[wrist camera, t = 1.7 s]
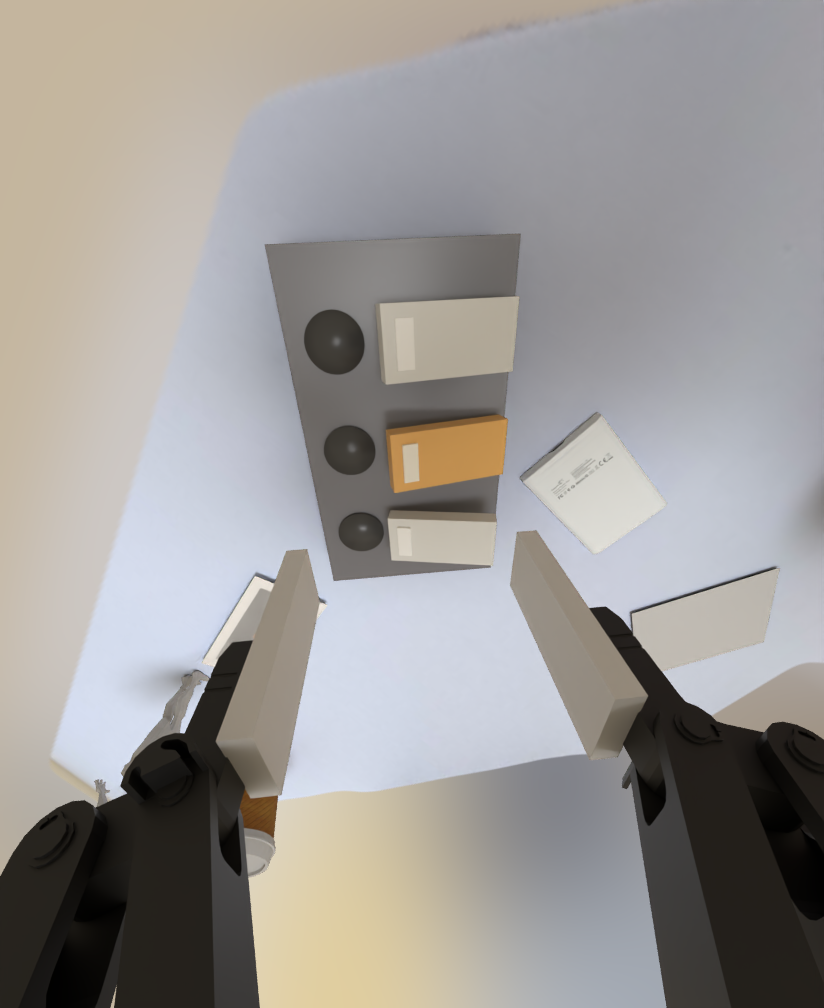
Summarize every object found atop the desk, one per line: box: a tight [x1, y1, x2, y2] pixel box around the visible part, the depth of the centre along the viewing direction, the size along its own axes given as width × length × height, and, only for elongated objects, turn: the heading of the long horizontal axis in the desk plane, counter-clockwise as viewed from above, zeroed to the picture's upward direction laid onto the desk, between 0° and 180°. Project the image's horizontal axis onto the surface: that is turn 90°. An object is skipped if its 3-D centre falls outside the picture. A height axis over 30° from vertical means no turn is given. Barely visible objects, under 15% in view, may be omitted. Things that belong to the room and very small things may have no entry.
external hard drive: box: [520, 413, 667, 554], centre depth 33 cm, size 2×8×12 cm
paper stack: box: [632, 568, 780, 671], centre depth 47 cm, size 23×25×1 cm
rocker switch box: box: [265, 234, 520, 581], centre depth 27 cm, size 14×24×4 cm, turn 3°
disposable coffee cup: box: [240, 790, 278, 877], centre depth 46 cm, size 10×10×12 cm
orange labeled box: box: [386, 415, 508, 493], centre depth 24 cm, size 8×4×1 cm, turn 93°
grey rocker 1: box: [375, 296, 519, 385], centre depth 20 cm, size 8×4×1 cm, turn 93°
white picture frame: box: [202, 576, 327, 667], centre depth 39 cm, size 8×15×2 cm, turn 145°
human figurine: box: [94, 671, 209, 807], centre depth 34 cm, size 12×4×18 cm, turn 118°
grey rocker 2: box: [388, 510, 497, 566], centre depth 27 cm, size 8×4×1 cm, turn 92°
